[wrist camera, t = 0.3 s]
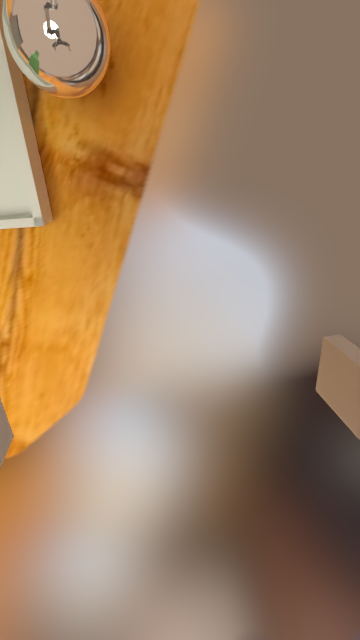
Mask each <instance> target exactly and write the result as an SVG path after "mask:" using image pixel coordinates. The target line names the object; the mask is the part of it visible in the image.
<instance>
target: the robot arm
mask: <svg viewBox="0 0 360 640" xmlns="http://www.w3.org/2000/svg"><path fill="white" fill-rule="evenodd" d="M316 391H317V392H318V394H319V395H320V396H321V397H322V398H323V399H324V400H325V401H326V403H327V404H328V405H329V406H330V407H331V408H332V409H333V411H334V412H335V413H336V414H337V415H338V416H339V417H340V418H341V420H342V421H343V422H344V423H345V424H346V425H347V426H348V427H349V428H350V430H351V431H352V432H353V433H354V434H355V435H356V437H357V438H358V439H359V440H360V349H359V348H358V347H357V346H355V345H354V344H352V343H351V342H350V341H348V340H347V339H346V338H344V337H343V336H342V335H334V336H327V337H324V338H323V345H322V351H321V358H320V365H319V371H318V378H317V384H316ZM13 436H14V435H13V433H12V430H11V427H10V424H9V421H8V419H7V416H6V413H5V410H4V408H3V405H2V402H1V399H0V468H1V465H2V463H3V460H4V458H5V456H6V453H7V451H8V448H9V446H10V444H11V441H12V439H13Z"/></svg>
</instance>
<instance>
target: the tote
mask: <svg viewBox="0 0 360 640" xmlns="http://www.w3.org/2000/svg"><path fill="white" fill-rule="evenodd" d="M3 1H4V0H0V229H9V228H22V227H35V226H44V225H46V224H48V223H49V222H51V221H52V220H53V216H52V211H51V207H50V202H49V197H48V192H47V188H46V183H45V178H44V173H43V169H42V164H41V159H40V154H39V150H38V145H37V140H36V135H35V131H34V126H33V121H32V116H31V112H30V107H29V102H28V97H27V93H26V88H25V83H24V78H23V74H22V71H21V70H20V68H19V67H18V65H17V64H16V62H15V60H14V59H13V57H12V55H11V53H10V50H9V48H8V46H7V42H6V39H5V35H4V30H3V20H2V10H3Z"/></svg>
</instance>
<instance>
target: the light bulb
mask: <svg viewBox="0 0 360 640" xmlns="http://www.w3.org/2000/svg"><path fill="white" fill-rule="evenodd" d="M2 20H3V30H4V35H5V39H6V42H7V46H8V48H9V50H10V53H11V55H12V57H13V59H14V60H15V62H16V64H17V65H18V67H19V68H20V70H21V71H22V73H23V74H24V75H25V76H26V77H27V78H28V80H29V81H31V82H32V83H33V84H34V85H35V86H36V87H38V88H39V89H41V90H43V91H44V92H46V93H48V94H50V95H52V96H55V97H58V98H64V99H75V98H80V97H83V96H85V95H87V94H89V93H90V92H92V91H93V90H94V89H95V88H96V87H97V86H98V85H99V84H100V83H101V81H102V79H103V78H104V76H105V73H106V71H107V68H108V65H109V59H110V53H111V40H110V34H109V28H108V25H107V21H106V18H105V15H104V12H103V10H102V8H101V6H100V4H99V2H98V0H4V1H3V10H2Z"/></svg>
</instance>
